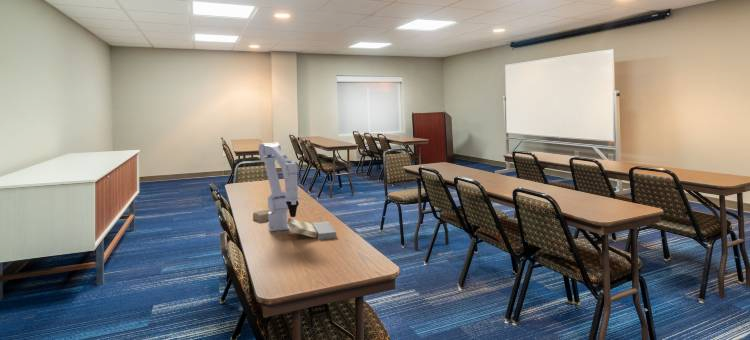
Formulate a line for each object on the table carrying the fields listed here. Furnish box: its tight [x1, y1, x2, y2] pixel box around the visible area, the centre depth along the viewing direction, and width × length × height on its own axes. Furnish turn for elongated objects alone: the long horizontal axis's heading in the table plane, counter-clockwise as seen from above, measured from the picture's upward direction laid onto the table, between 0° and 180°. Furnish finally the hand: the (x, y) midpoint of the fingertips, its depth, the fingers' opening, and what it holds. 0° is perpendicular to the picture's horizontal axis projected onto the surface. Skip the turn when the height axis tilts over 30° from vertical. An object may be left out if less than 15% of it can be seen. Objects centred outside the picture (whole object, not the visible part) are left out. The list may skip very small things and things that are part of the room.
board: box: [311, 220, 337, 240], centre depth 207 cm, size 8×20×3 cm, turn 17°
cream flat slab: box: [287, 217, 317, 239], centre depth 204 cm, size 12×16×2 cm
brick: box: [252, 208, 271, 223], centre depth 237 cm, size 17×8×5 cm, turn 135°
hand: (292, 216), depth 202 cm, fingers closed
